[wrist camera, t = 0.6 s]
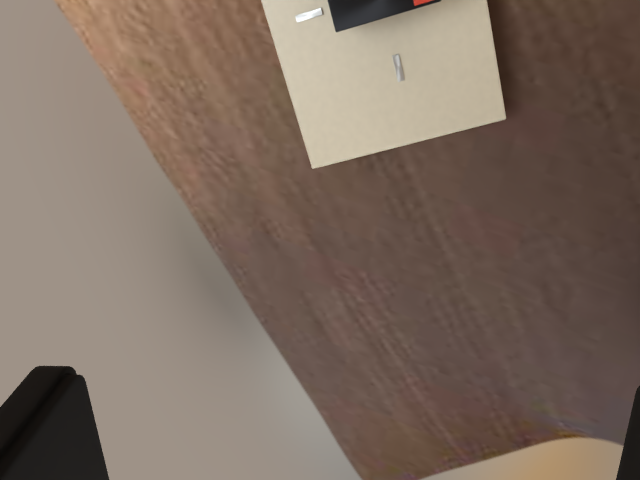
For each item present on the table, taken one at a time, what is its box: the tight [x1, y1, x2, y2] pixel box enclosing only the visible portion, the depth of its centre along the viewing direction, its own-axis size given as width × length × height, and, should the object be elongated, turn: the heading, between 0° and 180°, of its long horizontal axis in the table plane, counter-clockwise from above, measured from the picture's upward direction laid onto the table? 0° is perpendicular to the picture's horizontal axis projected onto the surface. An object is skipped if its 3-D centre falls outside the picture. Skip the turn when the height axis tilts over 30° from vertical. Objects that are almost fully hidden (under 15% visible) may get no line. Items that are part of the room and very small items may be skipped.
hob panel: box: [261, 0, 506, 169], centre depth 31 cm, size 13×11×3 cm
